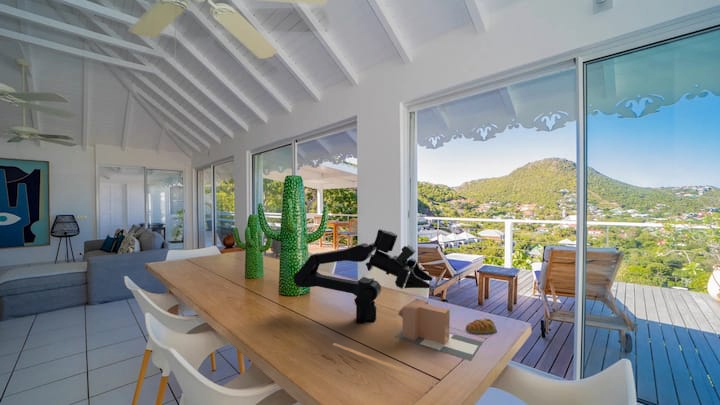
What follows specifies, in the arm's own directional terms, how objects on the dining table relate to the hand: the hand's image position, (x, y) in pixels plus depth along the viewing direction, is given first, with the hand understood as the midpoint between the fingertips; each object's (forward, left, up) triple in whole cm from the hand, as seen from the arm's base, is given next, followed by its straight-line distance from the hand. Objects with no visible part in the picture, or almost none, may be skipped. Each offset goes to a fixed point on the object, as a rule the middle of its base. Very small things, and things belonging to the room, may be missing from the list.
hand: (431, 282), depth 95 cm
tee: (-2, -7, -15) cm, 16 cm away
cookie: (-5, +11, -16) cm, 20 cm away
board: (+1, -8, -15) cm, 17 cm away
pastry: (+16, +1, -16) cm, 23 cm away
